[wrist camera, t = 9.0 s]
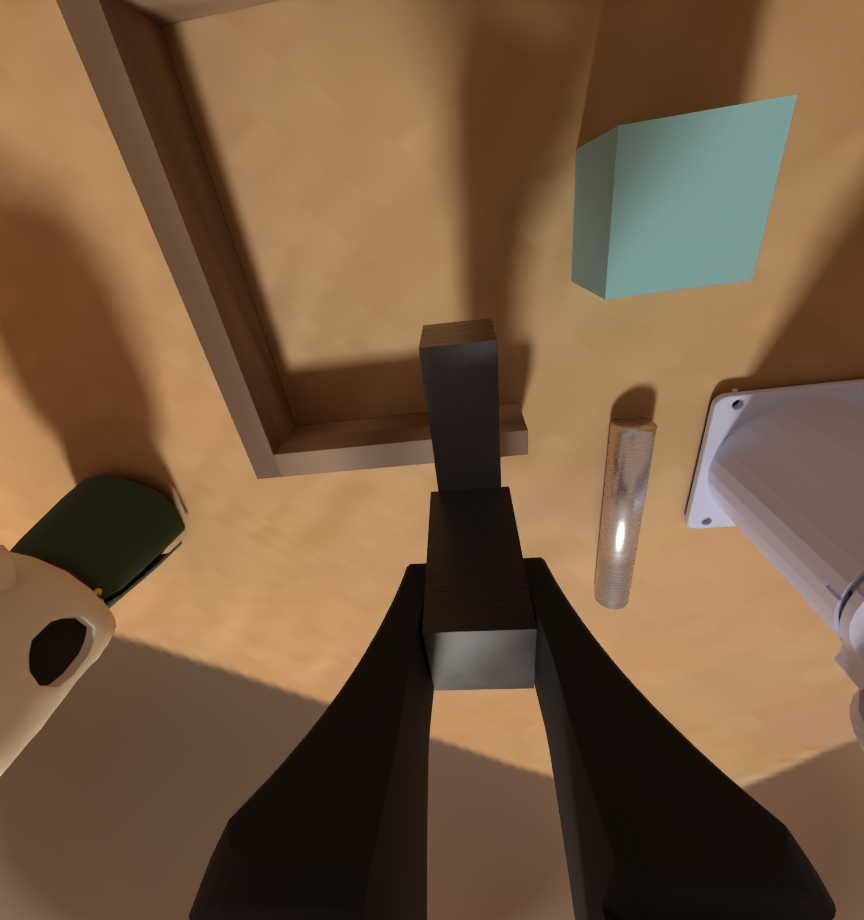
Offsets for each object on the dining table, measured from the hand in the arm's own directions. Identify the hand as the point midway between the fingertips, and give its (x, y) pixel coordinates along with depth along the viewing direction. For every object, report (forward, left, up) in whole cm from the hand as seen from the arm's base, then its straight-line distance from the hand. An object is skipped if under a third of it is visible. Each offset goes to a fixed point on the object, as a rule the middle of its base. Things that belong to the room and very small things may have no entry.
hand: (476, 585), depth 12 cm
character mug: (+20, +3, -11) cm, 23 cm away
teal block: (-7, -9, -10) cm, 15 cm away
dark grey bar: (0, -1, -4) cm, 5 cm away
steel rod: (-8, +6, -11) cm, 15 cm away
